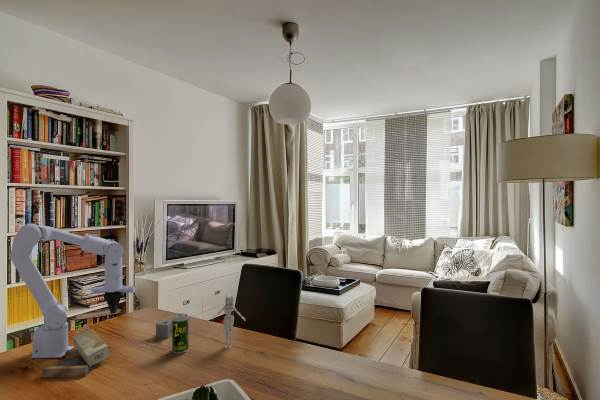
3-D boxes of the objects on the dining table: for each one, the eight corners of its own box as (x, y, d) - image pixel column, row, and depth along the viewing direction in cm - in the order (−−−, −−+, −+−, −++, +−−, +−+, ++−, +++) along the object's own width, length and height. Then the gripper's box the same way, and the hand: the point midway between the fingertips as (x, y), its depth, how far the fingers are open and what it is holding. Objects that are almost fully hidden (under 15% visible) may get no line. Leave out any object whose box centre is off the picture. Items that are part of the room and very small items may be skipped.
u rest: (42, 377, 106) (42, 368, 106) (68, 357, 119) (68, 349, 119) (85, 376, 107) (85, 368, 107) (106, 356, 120) (106, 349, 120)
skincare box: (87, 356, 110) (71, 337, 118) (89, 367, 112) (73, 347, 119) (108, 345, 115) (92, 327, 122) (111, 355, 117) (94, 337, 124)
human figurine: (210, 347, 128) (210, 296, 127) (214, 343, 132) (214, 293, 131) (243, 349, 126) (244, 297, 126) (246, 344, 130) (247, 294, 130)
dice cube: (155, 337, 137) (155, 323, 136) (163, 332, 141) (163, 319, 141) (167, 338, 135) (167, 325, 135) (175, 333, 140) (175, 320, 140)
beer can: (171, 348, 126) (171, 314, 126) (187, 346, 128) (187, 312, 128) (172, 355, 121) (172, 319, 121) (189, 352, 124) (189, 317, 123)
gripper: (87, 278, 127) (87, 316, 128) (130, 277, 128) (130, 316, 129) (96, 273, 134) (96, 310, 135) (137, 273, 135) (137, 309, 136)
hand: (113, 312), depth 132 cm, fingers closed
